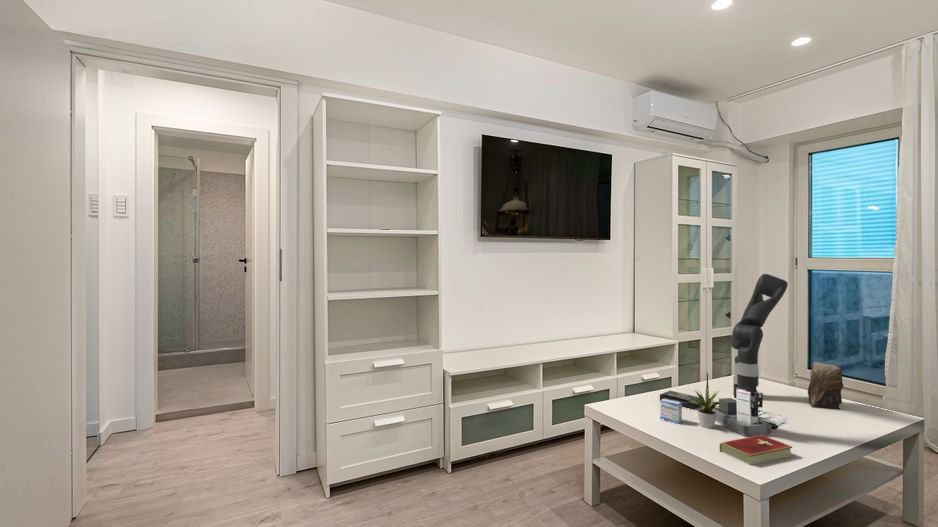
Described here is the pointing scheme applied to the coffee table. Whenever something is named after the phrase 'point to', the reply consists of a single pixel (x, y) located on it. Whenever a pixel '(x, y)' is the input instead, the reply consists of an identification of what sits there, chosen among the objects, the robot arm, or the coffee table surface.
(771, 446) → the hardcover book
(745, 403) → the syrup box
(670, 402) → the medicine box
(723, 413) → the grey desk organizer
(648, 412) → the coffee table surface
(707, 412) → the house plant
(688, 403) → the black wifi router
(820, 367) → the brown rock
